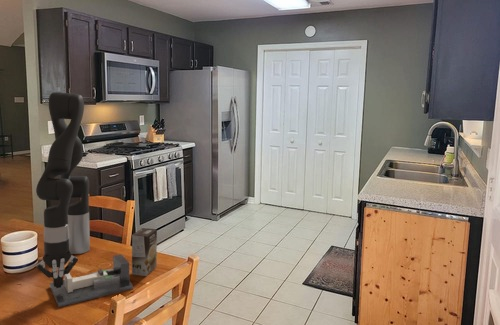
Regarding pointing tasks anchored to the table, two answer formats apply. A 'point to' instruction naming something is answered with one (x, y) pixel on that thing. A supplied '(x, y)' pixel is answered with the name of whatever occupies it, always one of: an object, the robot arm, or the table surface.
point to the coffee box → (144, 251)
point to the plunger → (82, 280)
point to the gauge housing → (97, 285)
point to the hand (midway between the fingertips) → (58, 286)
